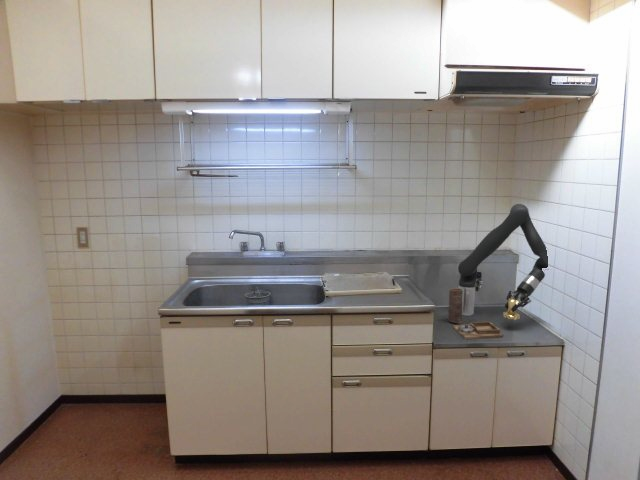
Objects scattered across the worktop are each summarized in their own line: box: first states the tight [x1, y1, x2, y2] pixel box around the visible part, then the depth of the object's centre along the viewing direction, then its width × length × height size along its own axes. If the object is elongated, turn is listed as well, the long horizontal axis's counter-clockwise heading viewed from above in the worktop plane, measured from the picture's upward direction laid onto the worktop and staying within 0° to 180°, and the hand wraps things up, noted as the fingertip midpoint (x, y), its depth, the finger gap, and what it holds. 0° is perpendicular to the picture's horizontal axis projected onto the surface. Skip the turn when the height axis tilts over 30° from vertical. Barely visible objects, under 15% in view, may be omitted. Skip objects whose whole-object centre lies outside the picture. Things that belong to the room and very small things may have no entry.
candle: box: [447, 287, 463, 325], centre depth 232 cm, size 8×7×20 cm
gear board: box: [452, 321, 504, 340], centre depth 219 cm, size 16×20×5 cm
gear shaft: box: [502, 298, 521, 321], centre depth 221 cm, size 8×8×10 cm
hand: (509, 309), depth 221 cm, fingers closed on gear shaft, 4 cm apart
